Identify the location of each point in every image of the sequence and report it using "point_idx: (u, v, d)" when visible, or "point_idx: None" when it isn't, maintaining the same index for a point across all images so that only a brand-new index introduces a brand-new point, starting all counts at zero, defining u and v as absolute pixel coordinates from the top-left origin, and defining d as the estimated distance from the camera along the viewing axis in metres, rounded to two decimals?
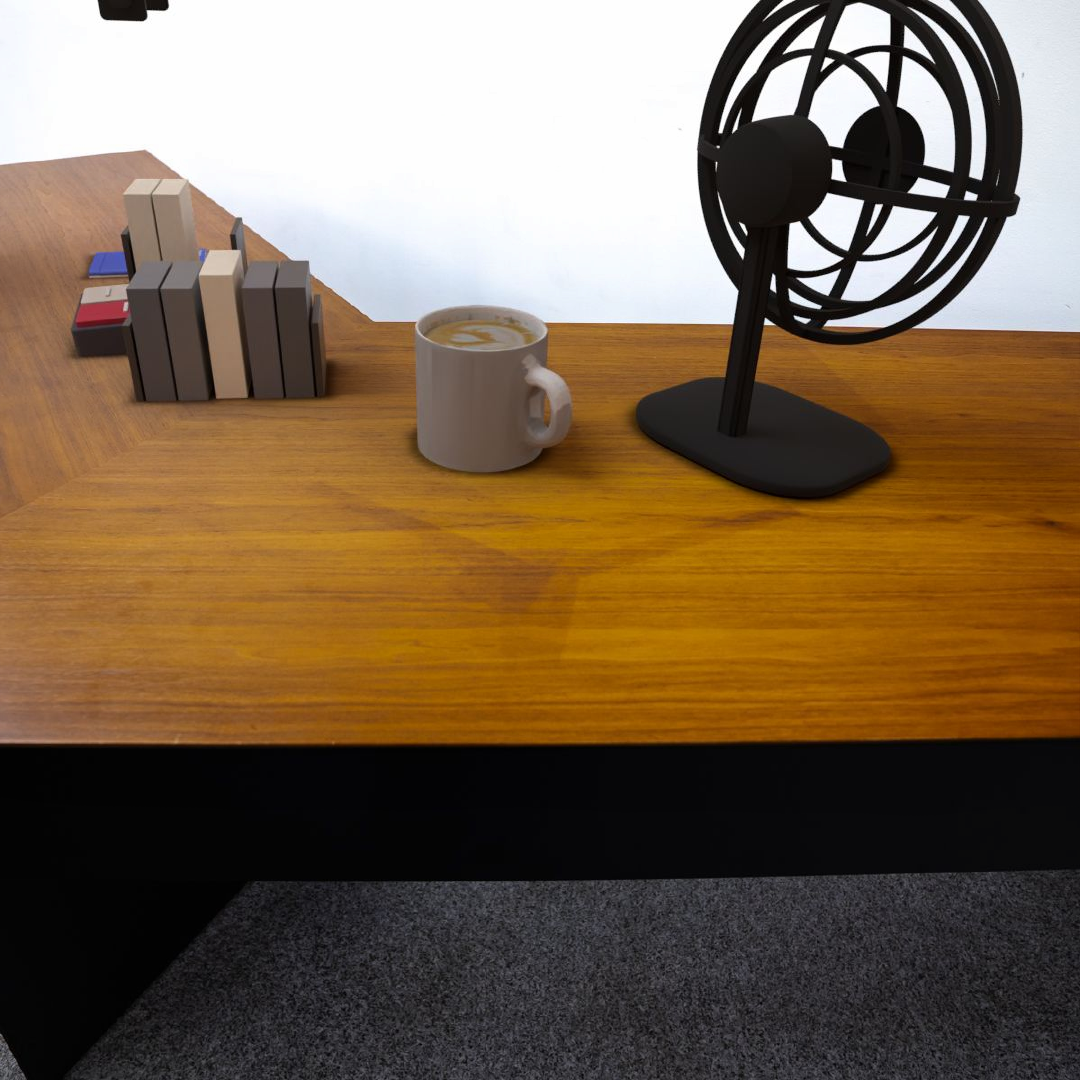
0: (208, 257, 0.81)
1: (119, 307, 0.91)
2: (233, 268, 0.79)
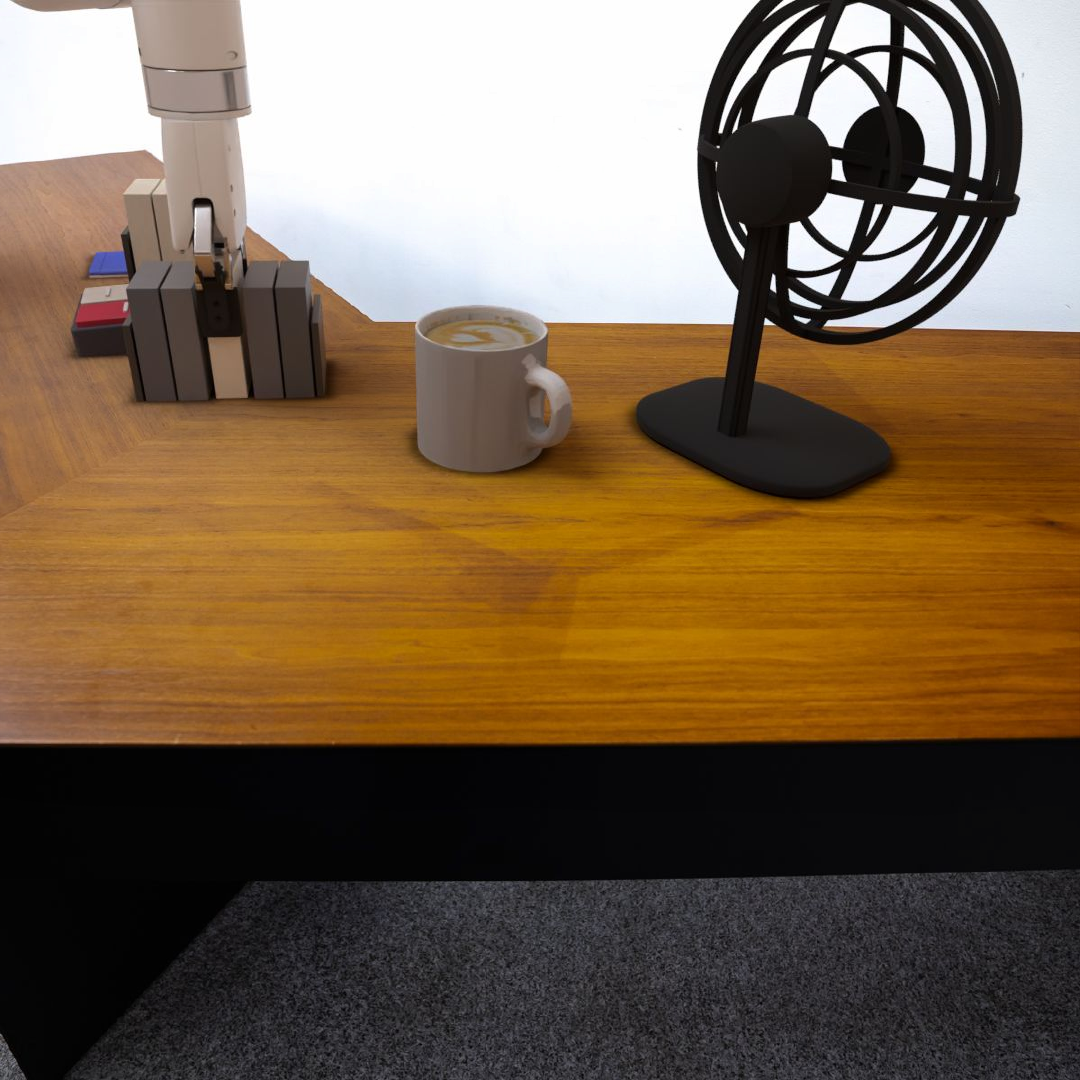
0: None
1: (119, 307, 0.91)
2: (233, 268, 0.79)
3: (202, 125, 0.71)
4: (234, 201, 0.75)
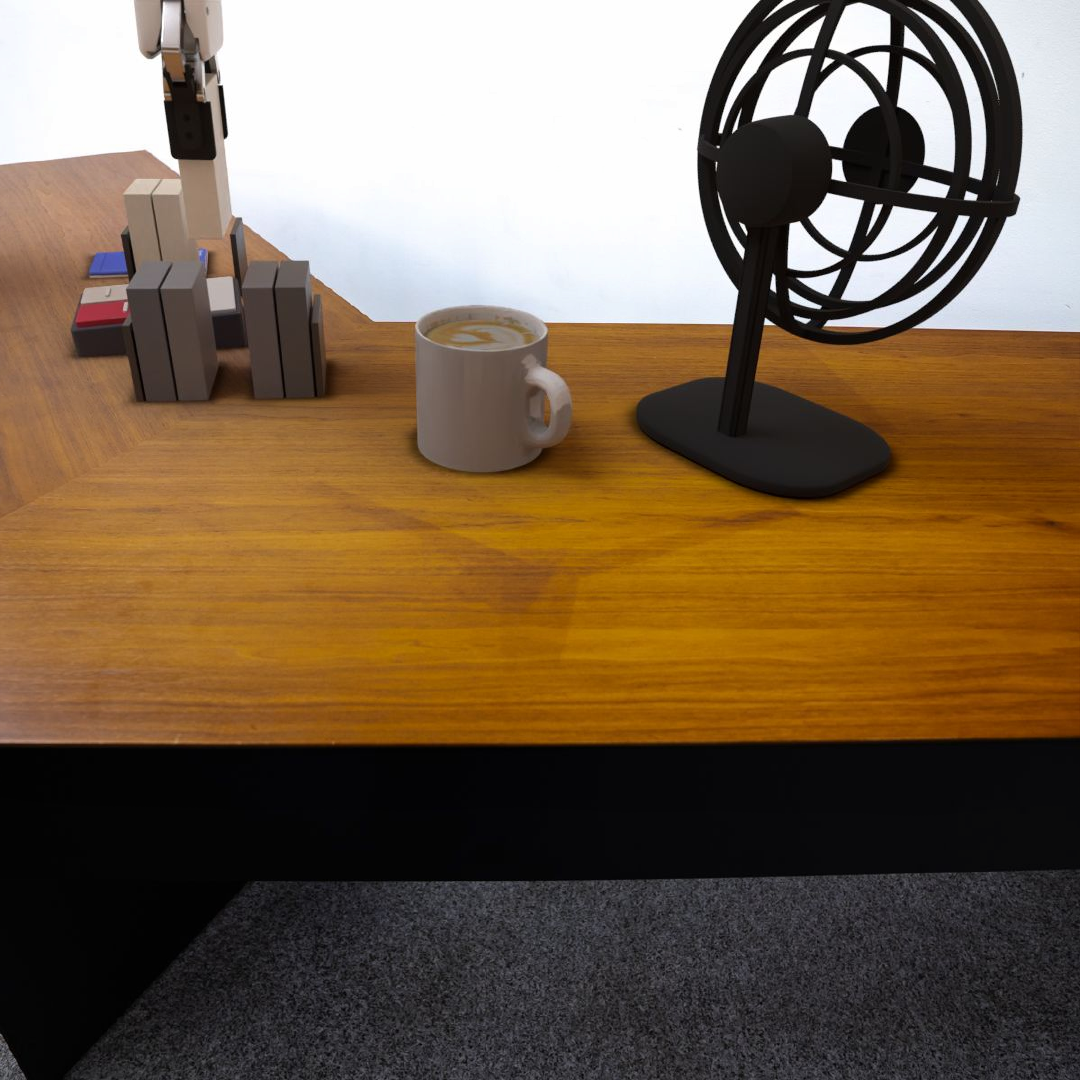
0: None
1: (119, 307, 0.91)
2: (207, 83, 0.72)
3: None
4: None
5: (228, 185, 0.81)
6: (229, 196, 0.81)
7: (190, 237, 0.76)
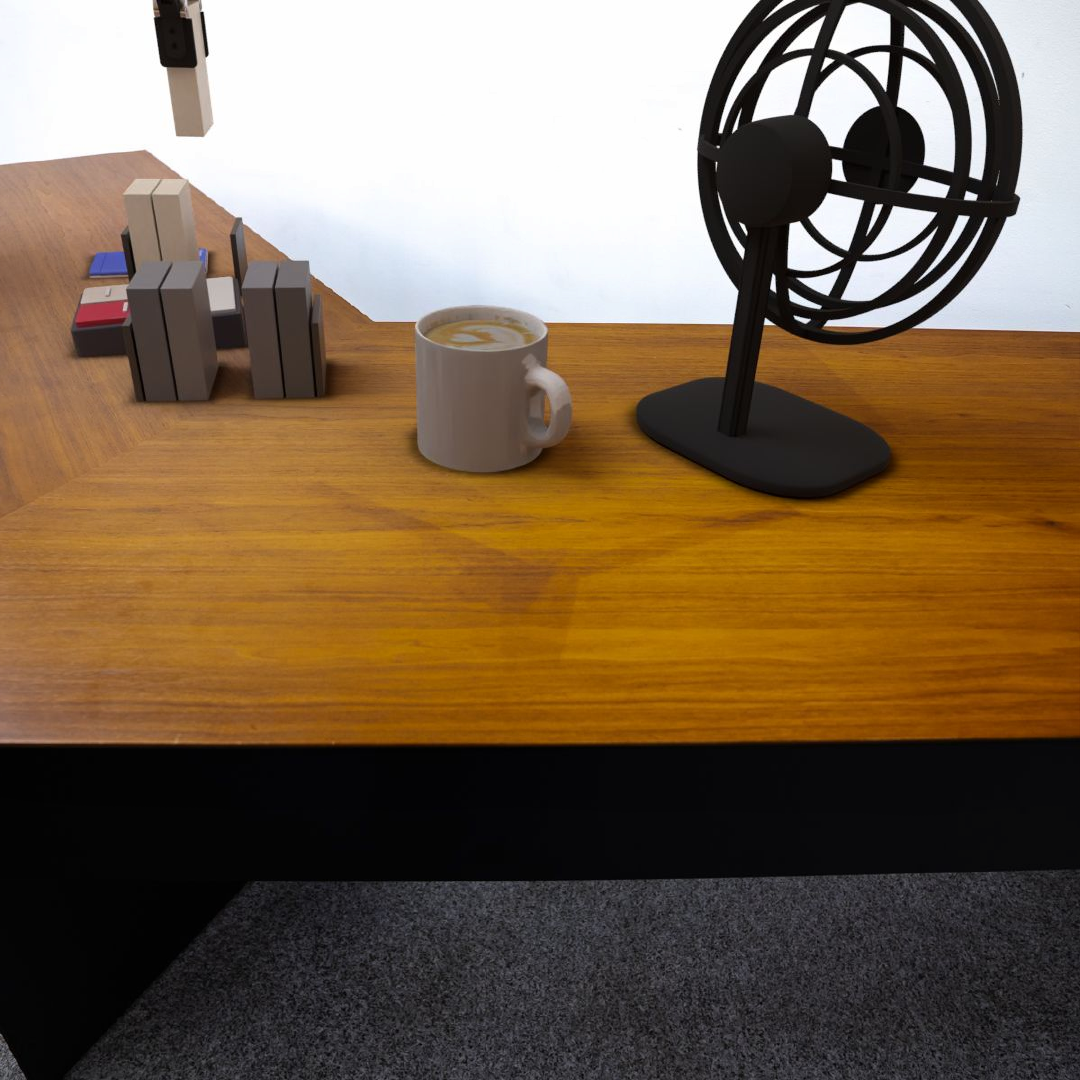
0: None
1: (119, 307, 0.91)
2: (189, 5, 0.89)
3: None
4: None
5: None
6: (211, 106, 0.98)
7: (177, 134, 0.93)
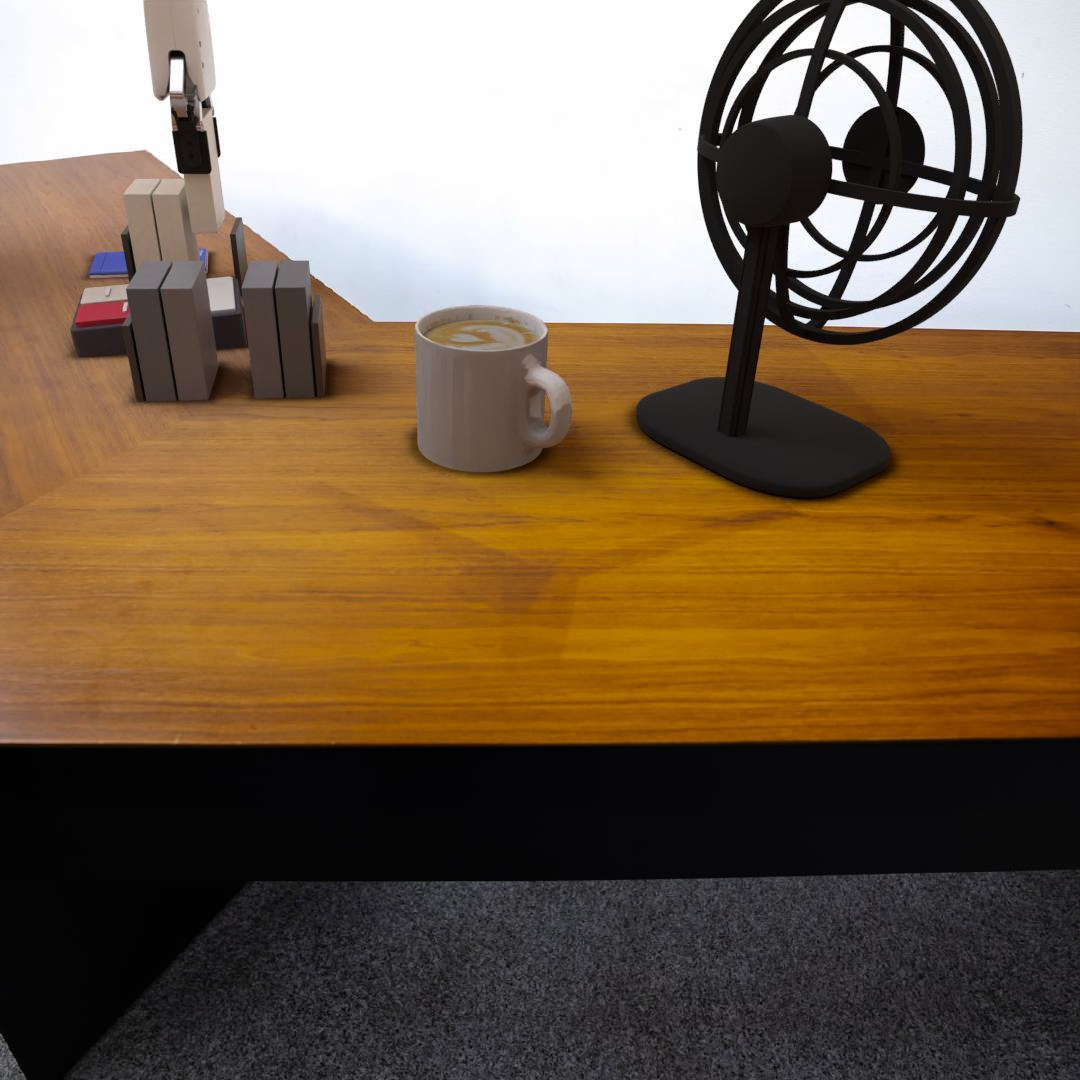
0: None
1: (119, 307, 0.91)
2: (204, 117, 0.97)
3: None
4: (202, 55, 0.93)
5: None
6: None
7: (193, 232, 1.01)
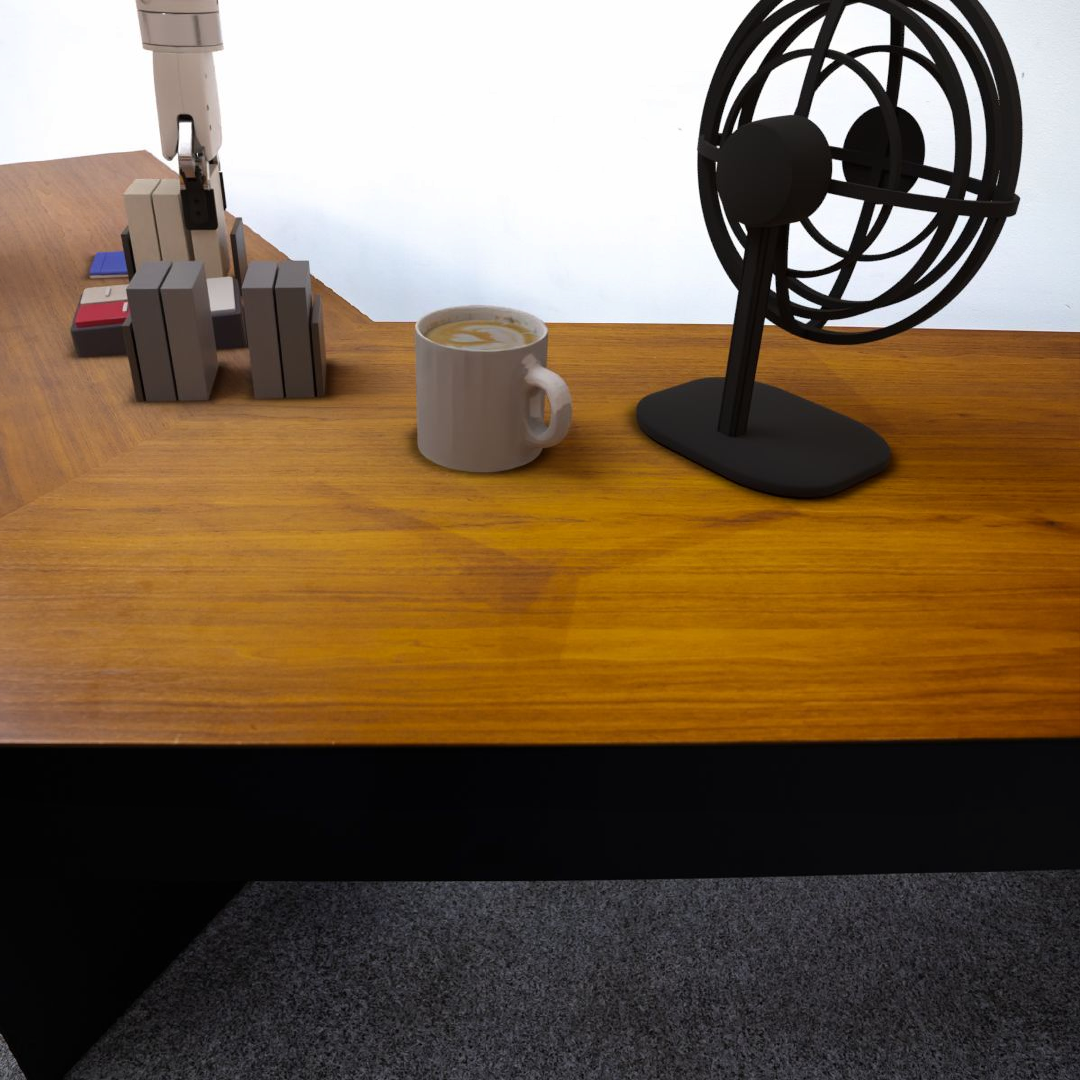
0: None
1: (118, 307, 0.91)
2: (211, 175, 1.00)
3: (184, 56, 0.92)
4: (210, 118, 0.96)
5: (227, 243, 1.09)
6: (228, 251, 1.09)
7: None
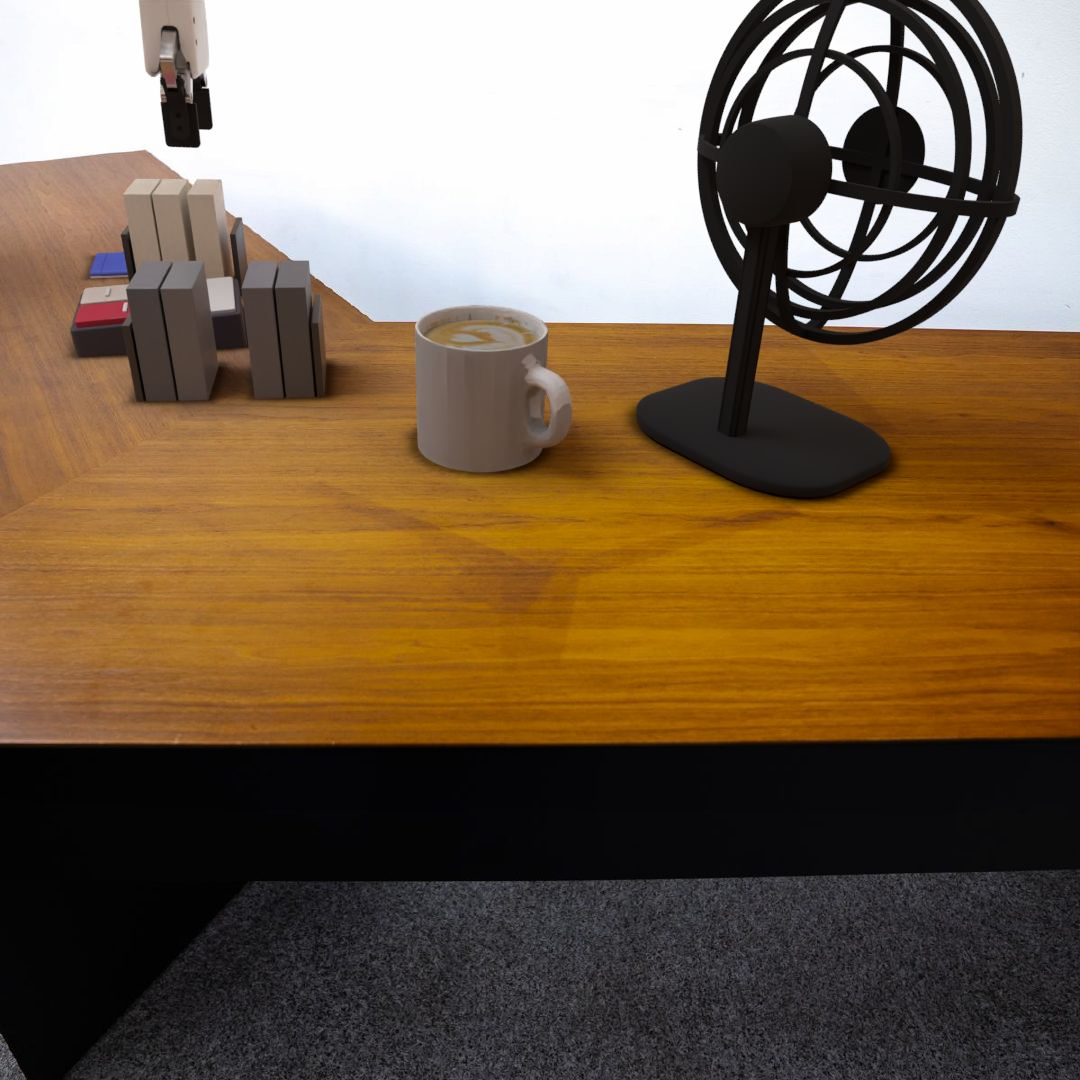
0: (195, 183, 1.03)
1: (118, 307, 0.91)
2: (214, 190, 1.01)
3: None
4: (196, 32, 0.92)
5: None
6: (231, 265, 1.10)
7: None
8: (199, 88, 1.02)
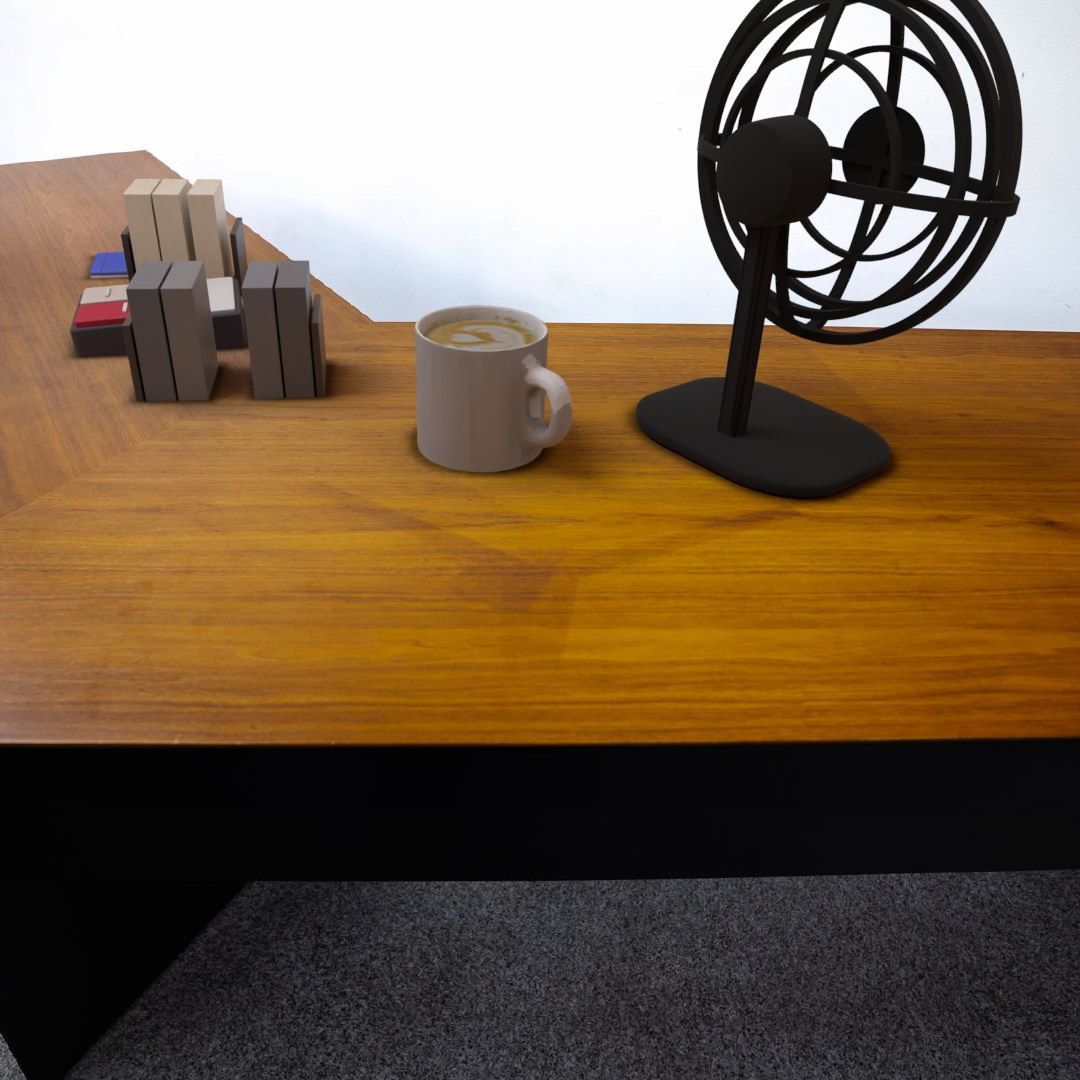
0: (195, 183, 1.03)
1: (118, 307, 0.91)
2: (214, 190, 1.01)
3: None
4: None
5: None
6: (231, 265, 1.10)
7: None
8: None
